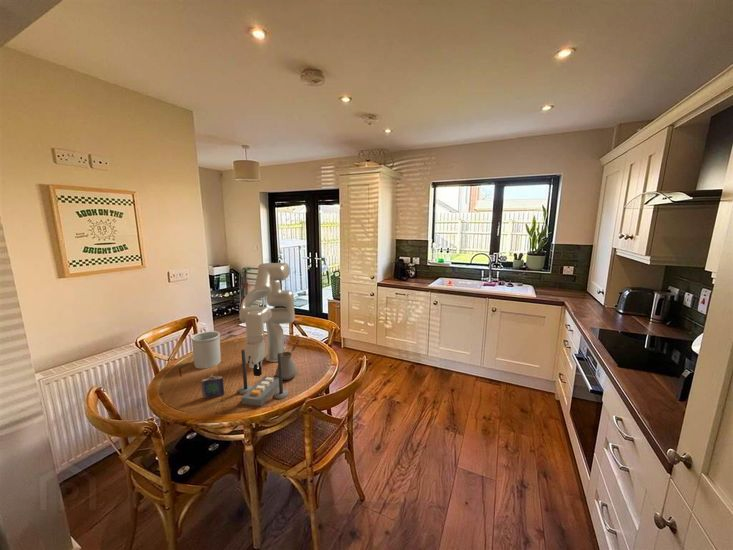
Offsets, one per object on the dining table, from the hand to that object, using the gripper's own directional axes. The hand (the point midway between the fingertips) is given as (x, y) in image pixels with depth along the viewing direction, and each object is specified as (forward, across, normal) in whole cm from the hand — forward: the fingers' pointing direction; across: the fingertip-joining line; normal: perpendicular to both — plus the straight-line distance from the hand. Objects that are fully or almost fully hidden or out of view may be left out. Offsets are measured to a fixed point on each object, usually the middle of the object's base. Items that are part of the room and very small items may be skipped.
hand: (257, 375), depth 136 cm
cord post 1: (+11, -4, -10) cm, 15 cm away
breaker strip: (+11, -4, 0) cm, 12 cm away
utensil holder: (+11, -26, -49) cm, 57 cm away
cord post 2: (+11, -4, +10) cm, 15 cm away
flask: (+12, +3, -22) cm, 25 cm away
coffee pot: (+12, -26, +4) cm, 29 cm away
